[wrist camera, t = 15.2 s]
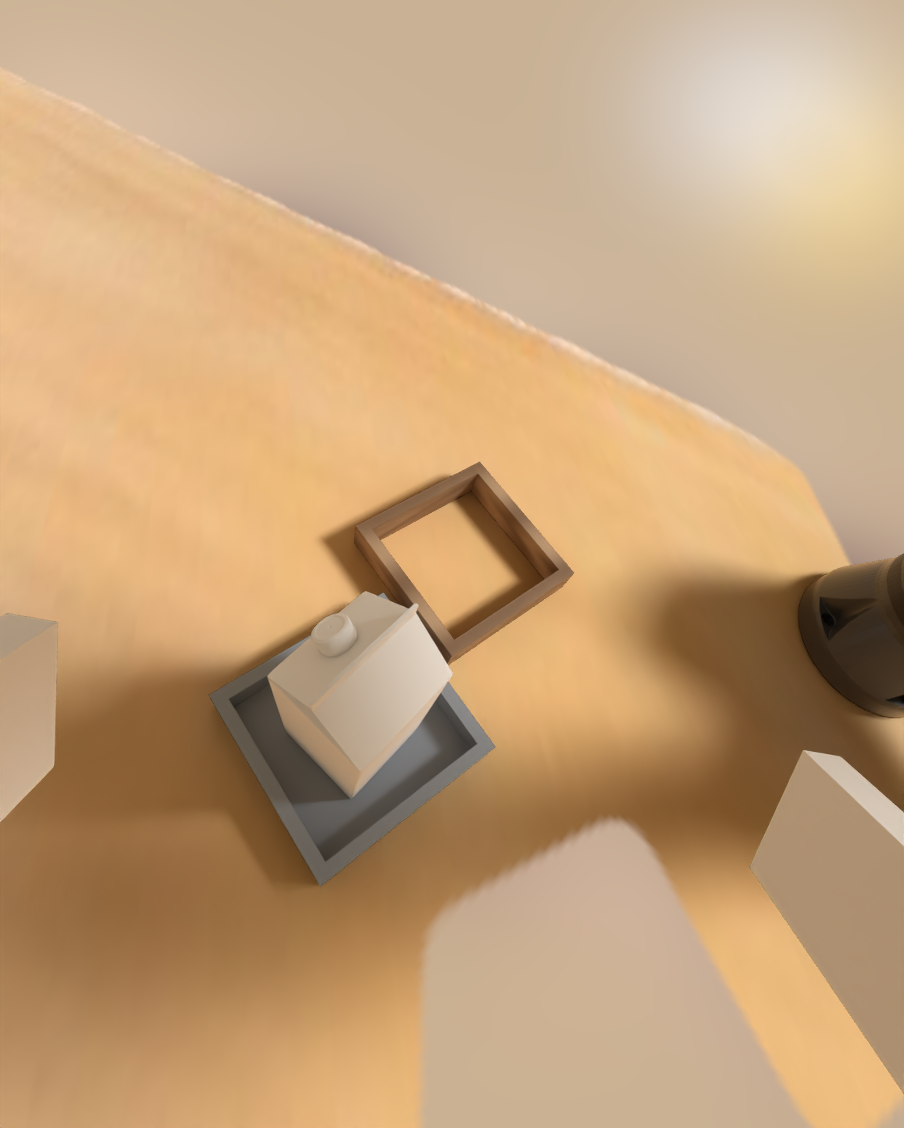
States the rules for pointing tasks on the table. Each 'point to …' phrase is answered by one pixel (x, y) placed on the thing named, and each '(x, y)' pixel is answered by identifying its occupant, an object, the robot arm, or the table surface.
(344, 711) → the milk carton
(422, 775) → the tray
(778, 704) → the table surface
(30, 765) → the robot arm
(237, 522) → the table surface
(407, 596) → the holder frame
